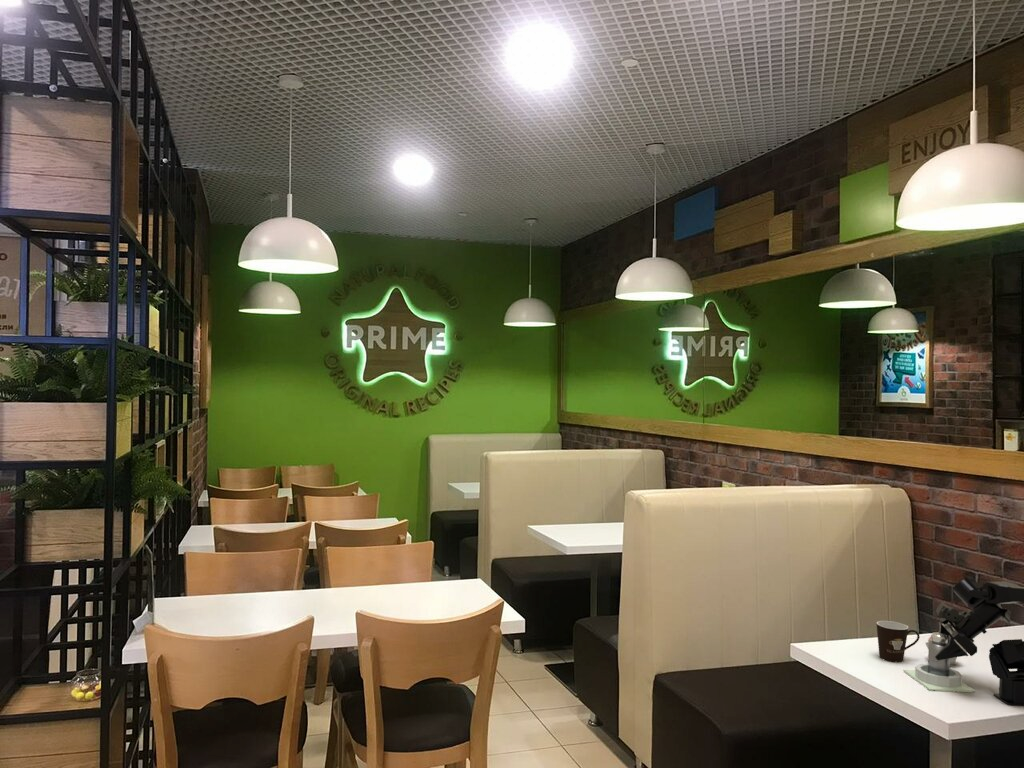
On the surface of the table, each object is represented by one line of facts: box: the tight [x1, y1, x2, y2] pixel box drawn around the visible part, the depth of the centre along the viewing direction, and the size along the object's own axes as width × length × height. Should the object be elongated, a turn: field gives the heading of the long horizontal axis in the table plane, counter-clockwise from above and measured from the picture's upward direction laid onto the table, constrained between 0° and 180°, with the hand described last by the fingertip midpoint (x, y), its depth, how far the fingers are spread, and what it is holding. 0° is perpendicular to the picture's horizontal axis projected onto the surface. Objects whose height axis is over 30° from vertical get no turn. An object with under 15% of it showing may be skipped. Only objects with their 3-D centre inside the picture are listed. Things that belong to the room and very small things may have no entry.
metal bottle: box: [927, 631, 951, 677], centre depth 214 cm, size 5×5×12 cm
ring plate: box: [903, 662, 975, 693], centre depth 214 cm, size 14×12×3 cm
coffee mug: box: [876, 620, 921, 663], centre depth 231 cm, size 12×9×10 cm
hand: (933, 653), depth 214 cm, fingers open, 9 cm apart
